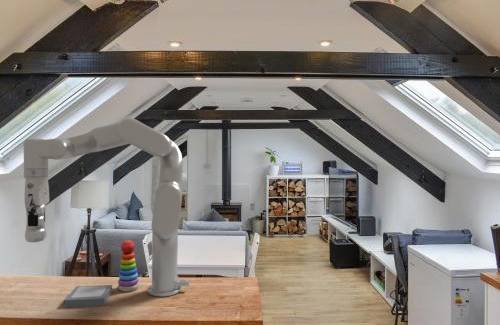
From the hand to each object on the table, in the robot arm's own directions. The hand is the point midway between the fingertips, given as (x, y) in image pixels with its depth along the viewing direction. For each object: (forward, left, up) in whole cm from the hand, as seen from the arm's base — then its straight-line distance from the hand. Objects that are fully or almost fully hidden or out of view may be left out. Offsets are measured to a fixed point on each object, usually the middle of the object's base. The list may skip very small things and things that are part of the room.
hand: (36, 223), depth 133 cm
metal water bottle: (0, 0, -7) cm, 7 cm away
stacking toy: (-30, -7, -27) cm, 42 cm away
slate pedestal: (-18, +2, -27) cm, 33 cm away
